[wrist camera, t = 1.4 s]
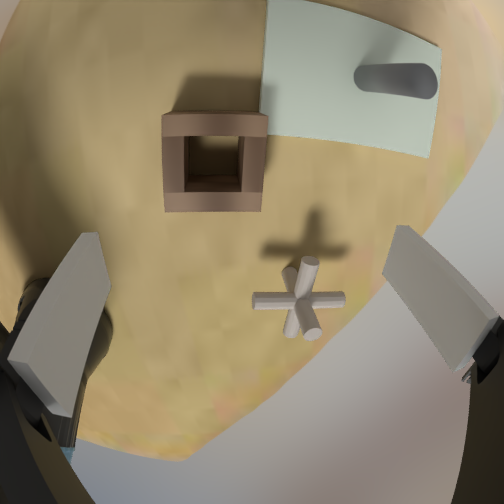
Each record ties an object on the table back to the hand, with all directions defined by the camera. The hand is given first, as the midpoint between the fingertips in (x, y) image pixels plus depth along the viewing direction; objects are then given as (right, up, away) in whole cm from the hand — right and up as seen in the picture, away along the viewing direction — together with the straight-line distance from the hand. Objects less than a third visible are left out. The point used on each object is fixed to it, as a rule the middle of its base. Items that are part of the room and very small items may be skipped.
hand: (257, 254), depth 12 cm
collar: (-4, +9, +14) cm, 17 cm away
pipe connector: (+4, -2, +22) cm, 23 cm away
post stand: (+11, +17, +11) cm, 23 cm away
